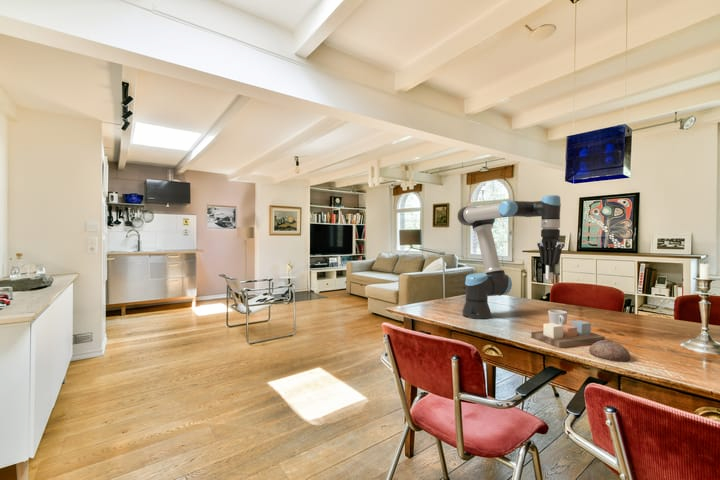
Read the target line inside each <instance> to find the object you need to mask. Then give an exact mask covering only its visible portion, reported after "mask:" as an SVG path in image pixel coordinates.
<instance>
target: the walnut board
mask: <svg viewBox="0 0 720 480" xmlns="http://www.w3.org/2000/svg"><path fill="white" fill-rule="evenodd" d="M530 334H531V336H530V337H531V338H532V339H534V340H538V341H540V342H543V343H545V344H548V345H550V346H553V347H555V348H558V349H561V348H569V347H570V348H571V347H577V346H585V345H586V346H587V345H592V344H594V343H596V342H598V341H601V340H606V336H605V335H602V334H597V333H594V332H591V334H589V335H579V334H577V336H572V337H567V336H564V335H563V338H555V339H553V338H550V337H548V336H545V335H543V330H537V331H531V333H530Z"/></svg>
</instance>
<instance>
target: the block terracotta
mask: <svg viewBox="0 0 720 480" xmlns="http://www.w3.org/2000/svg"><path fill="white" fill-rule="evenodd" d="M561 326H563V335H564V336H567V337H572V336H577V327H573V326H571V324H567V323H566V325H561Z"/></svg>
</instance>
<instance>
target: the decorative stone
mask: <svg viewBox="0 0 720 480" xmlns="http://www.w3.org/2000/svg"><path fill="white" fill-rule="evenodd" d="M588 350H589V354H590V355H592V356H593V357H595V358H597V359H601V360H606V361H611V362H619V363H620V362H623V361H624V362H628V361H630V359H631V354H630V352H629V350H628V349H627V348H626V347H624V346H623V345H622V344H621V343H618V342H615V341H612V340H606V339H605V340H601V341H598V342H596V343H594V344H591V345H590V347H589V349H588Z"/></svg>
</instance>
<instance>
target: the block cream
mask: <svg viewBox="0 0 720 480" xmlns="http://www.w3.org/2000/svg"><path fill="white" fill-rule="evenodd" d="M542 331H543V335H545V336H548V337H550V338H553V339H555V338H563V326H561V325H558V324H555V323H549V322H547V323H543V330H542Z"/></svg>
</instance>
